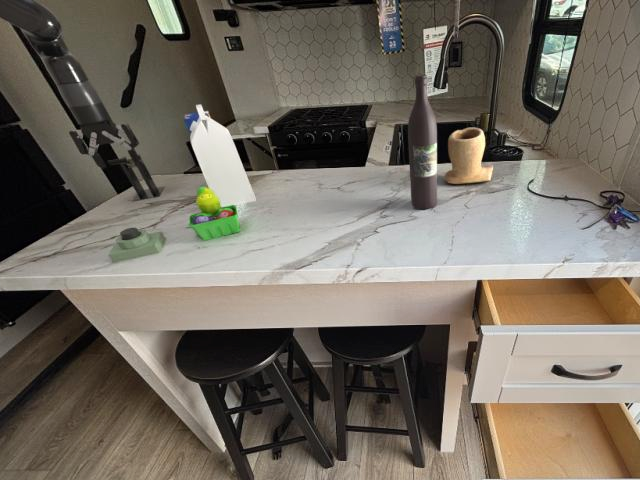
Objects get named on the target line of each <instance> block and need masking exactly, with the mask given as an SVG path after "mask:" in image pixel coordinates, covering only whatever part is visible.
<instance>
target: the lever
mask: <svg viewBox="0 0 640 480" xmlns="http://www.w3.org/2000/svg"><path fill="white" fill-rule="evenodd" d="M121 158H122V157H121ZM121 158H117V159H110V160H107V163H108V165H109V166H112V165H120V164H124V165H127V166H128V168H132V169H135V168H137V166H136V164H135V163H134V162H133V160H132V158H127V157H126V158H122V159H121Z"/></svg>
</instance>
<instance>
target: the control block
mask: <svg viewBox="0 0 640 480" xmlns="http://www.w3.org/2000/svg"><path fill="white" fill-rule="evenodd" d="M138 231H139V232H140V234H141V235H140V236H138V237H136V238H134V239H130V240H124V239H123V238H122V236H121V235H119V236H118V237H117V238H116V239H115V243H114V245H113V246H112V248H111V249H110V251H109V253H108V254H107V256H108V257H109V259H110V260H111V261H112V263H118V262H119V263H120V262H123V261H128V260H132V259H133V260H134V259H137V258H142V257H147V256H152V255H156V254H160V253H161V251H162V249H163V245H164V243H165V242H166V241H165V240H166V237H165V235H164V233H163V232H162V231H161V230H160V231H156V232H150V233H149V232H148V231H147V230H145V229H138Z"/></svg>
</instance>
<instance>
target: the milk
mask: <svg viewBox="0 0 640 480" xmlns="http://www.w3.org/2000/svg"><path fill="white" fill-rule="evenodd" d="M195 107H196V111H197V112H198V114H199V116H200V117H199V119H198V121H197V122H195V121H193V122H192V125H191V127H190V131H192V133H191V135H190V134H189V135H190V136H189V139H190V144H191V147H192V150H193V152H194V155H195V157H196V160H197V162H198V165H199V167H200V169H201V172H202V174H203V177H204V180H205V182H206V185H207V186H208V187H207V188H209V189H211V190H212V191H213V192H214V194H215V195H216V196H217V197H218V199H219V200H220V206H221V207H225V206H230V205H236V207H237V206H241V205H245V204H249V203H254V202H257V201H258V200H257V198H256V195H255V192H254V190H253V188H252V185H251V183H250V180H249V178H248V175H247V173H246V170H245V168H244V165H243V163H242V160H241V158H240V154H239V152H238V149H237V147H236V144H235V142H234V139H233V137H232V135H231V133H230V131H229V129H228V128H226V127H225V126H224V125H222V124H220V123H219V122H217V121H216V120H214V119H212V117H211V118H209V117H208V116H206V115H205V113H204V108H203V106H202V104H195Z"/></svg>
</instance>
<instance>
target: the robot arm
mask: <svg viewBox="0 0 640 480" xmlns="http://www.w3.org/2000/svg"><path fill="white" fill-rule="evenodd" d="M0 19H1V20H3V21H5V22H7V23H8V24H11V25H13V26H15V27H17V28H19V29H20V30H21V32H22V34H23V36H24V37H25V38H26V39H27V41H28V42H29V44H30V45H31V47H32V48H33V49H34V51H35V53H36V54H37V55H38V56H39V58H40V59H41V61H42V63H43V65H44V67H45V69H46V71H47V72H48V74H49V76H50V77H51V78H52V80H53V82H54V84H55V85H56V87H57V89H58V92H59V94H60V96H61V98H62V99H63V102H64V103H65V105H66V106H67V107H68V109H69V111H70V112H71V114H72V116H73V117H74V119H75V120H76V122H77V124H78V125H79V127H80V129H75V128H73V129H71V130H70V131H69V133H68V134H69V136H70V138H71V139H72V141H73V143H74V145H75V146H76V148H77V150H78V152H79V153H80V154H81V155H88V156H89V157H91V158H92V160H93V161H94V163H95V164H96V165H97V167H98V168H100V169H101V170H105V169H107V165H106V162H105V161H104V159H103V158H102V156H101V154H100V153H98V148H99V146H103V145H106V144H107V145H108V144H110V145H111V144H114V143H116V144H117V145H119V146H121V147H123V148H124V149H126V150H127V153H128V155H129V157H130V159H132V160H133V162H134V163H135V164H136V163H138V162H139V157H138V155H139V154H138V152H137V151H136V149H135V148H137V147H138V146H139V145H140V142H139V140H138V138H137V137H136V135H135V133H134V131H133V130H132V128H131V126H130V124H129V123H127V122H123V123H120V124H116V123H115V122H114V121H113V119H112V118H111V116H110V114H109V112H108V110H107V108H106V106H105V105H104V103H103V101H102V99H101V97H100V96H99V94H98V92H97V90H96V88H95V87H94V85H93V84H92V83H91V81H90V79H89V77H88V76H87V74H86V72H85V70H84V69H83V67H82V65H81V63H80V61H79V60H78V59H77V57H76V56H74V55H73V54H72V52H71V50H70V49H69V47H68V46H67V44H66V42H65V40H64V38H63V37H62V32H63V29H62V25H61V22H60V20H59V19H58V17H57V16H56V14H55V13H53V12H52V11H51V10H50V9H49V8H48V7H46V6H45V5H44V4H42V3H40V2H38V1H37V0H0ZM119 131H121V132H122V133H123V134H125V135H126V137H127V139H128V140H129V141H128V140H126V138H124V137H123V136H121V135H120V134H119ZM84 136H85V137H86V138H88V139H89V147H87V145H86V143H85V141H84V140H83V138H84Z"/></svg>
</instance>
